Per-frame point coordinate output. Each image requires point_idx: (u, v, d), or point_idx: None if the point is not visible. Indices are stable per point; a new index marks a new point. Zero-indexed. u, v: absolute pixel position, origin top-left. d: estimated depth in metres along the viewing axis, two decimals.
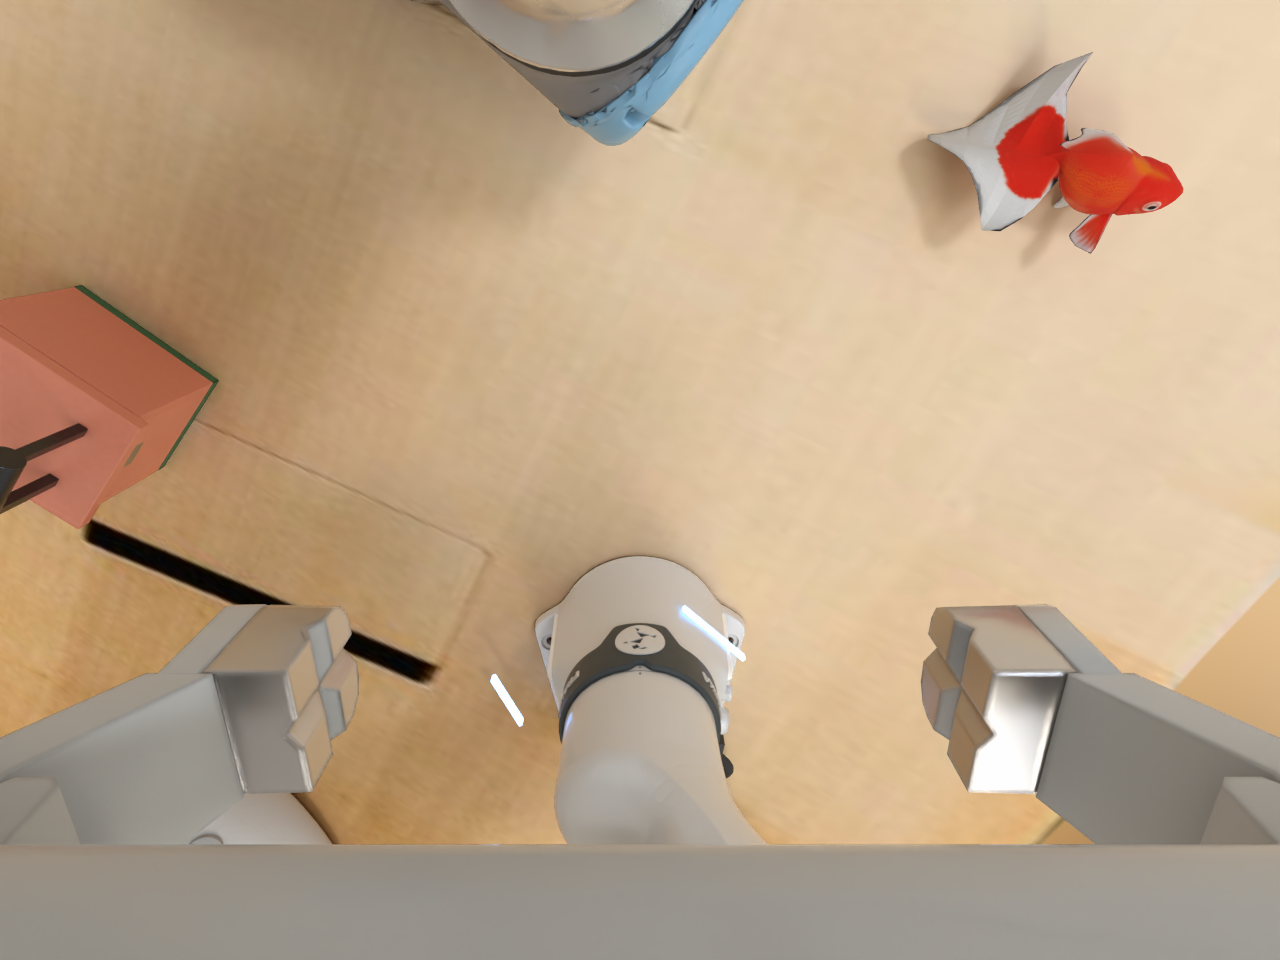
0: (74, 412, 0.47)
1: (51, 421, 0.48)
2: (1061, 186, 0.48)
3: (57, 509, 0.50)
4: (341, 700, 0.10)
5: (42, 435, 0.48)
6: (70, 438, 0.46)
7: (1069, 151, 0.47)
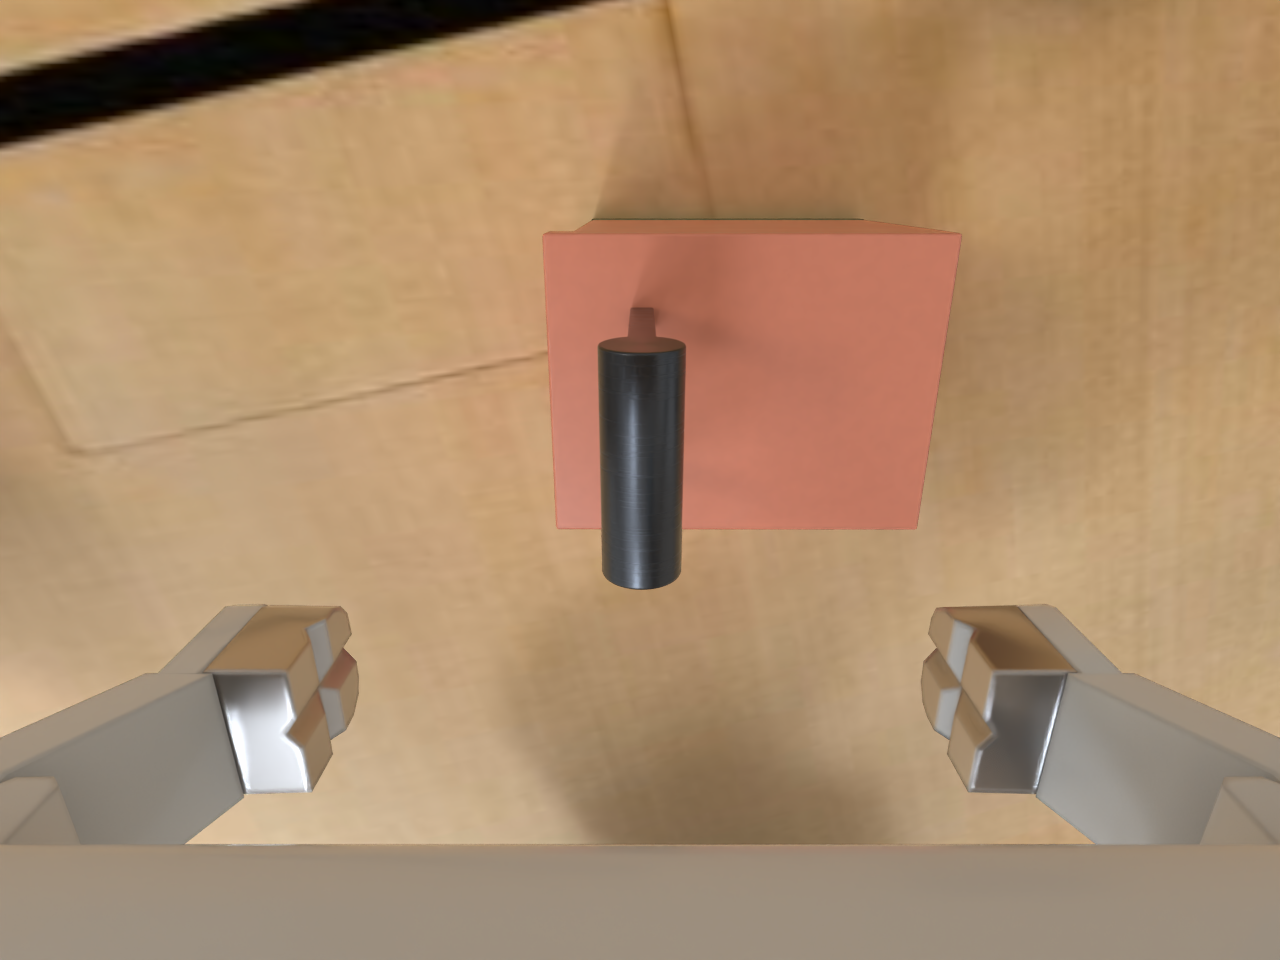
0: None
1: (696, 439, 0.23)
2: None
3: (601, 254, 0.21)
4: (341, 700, 0.10)
5: (699, 400, 0.23)
6: None
7: None
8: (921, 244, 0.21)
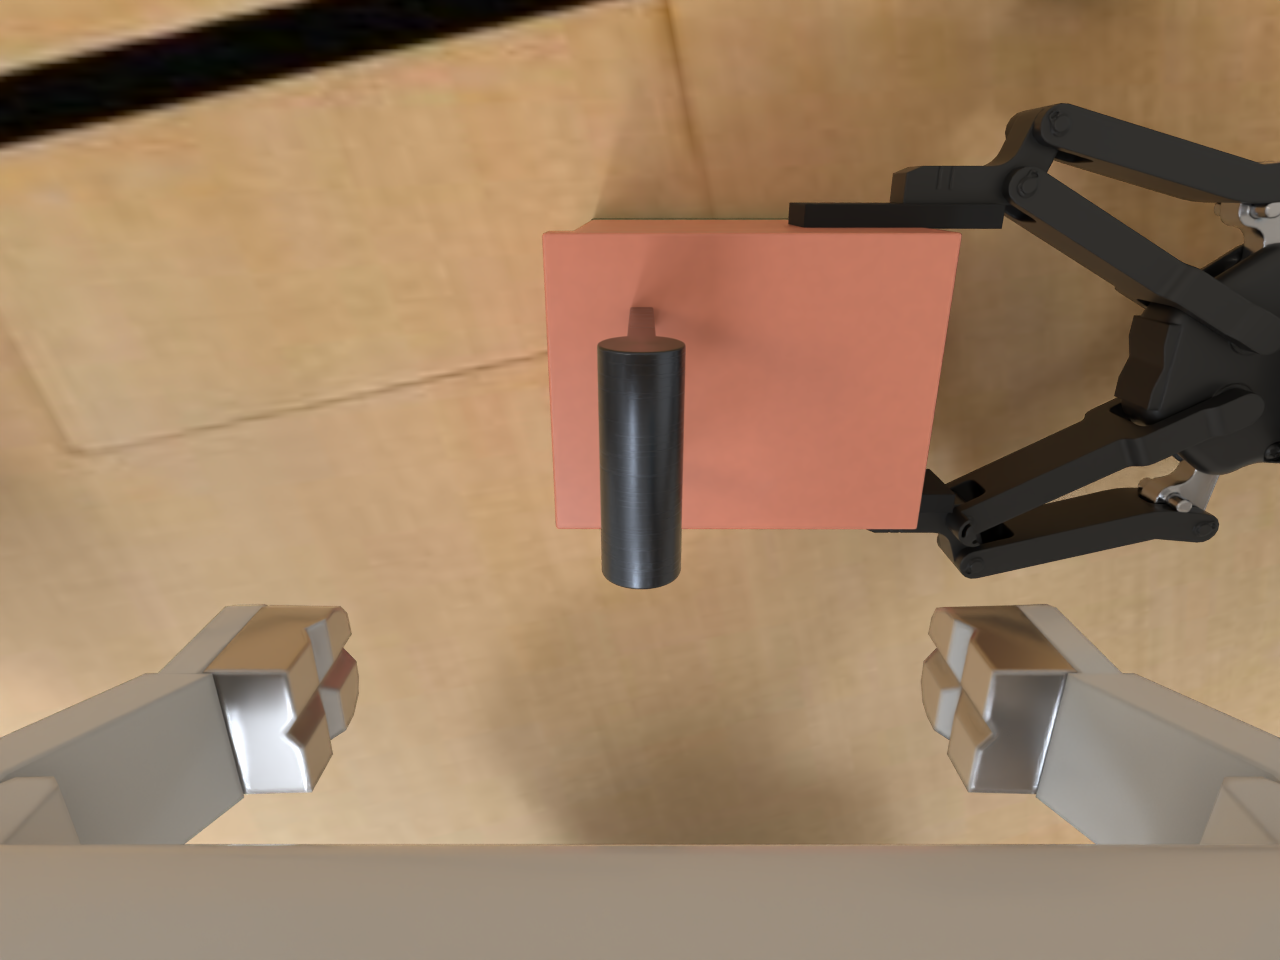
0: None
1: (696, 439, 0.23)
2: None
3: (601, 253, 0.21)
4: (341, 700, 0.10)
5: (699, 400, 0.23)
6: None
7: None
8: (921, 244, 0.21)
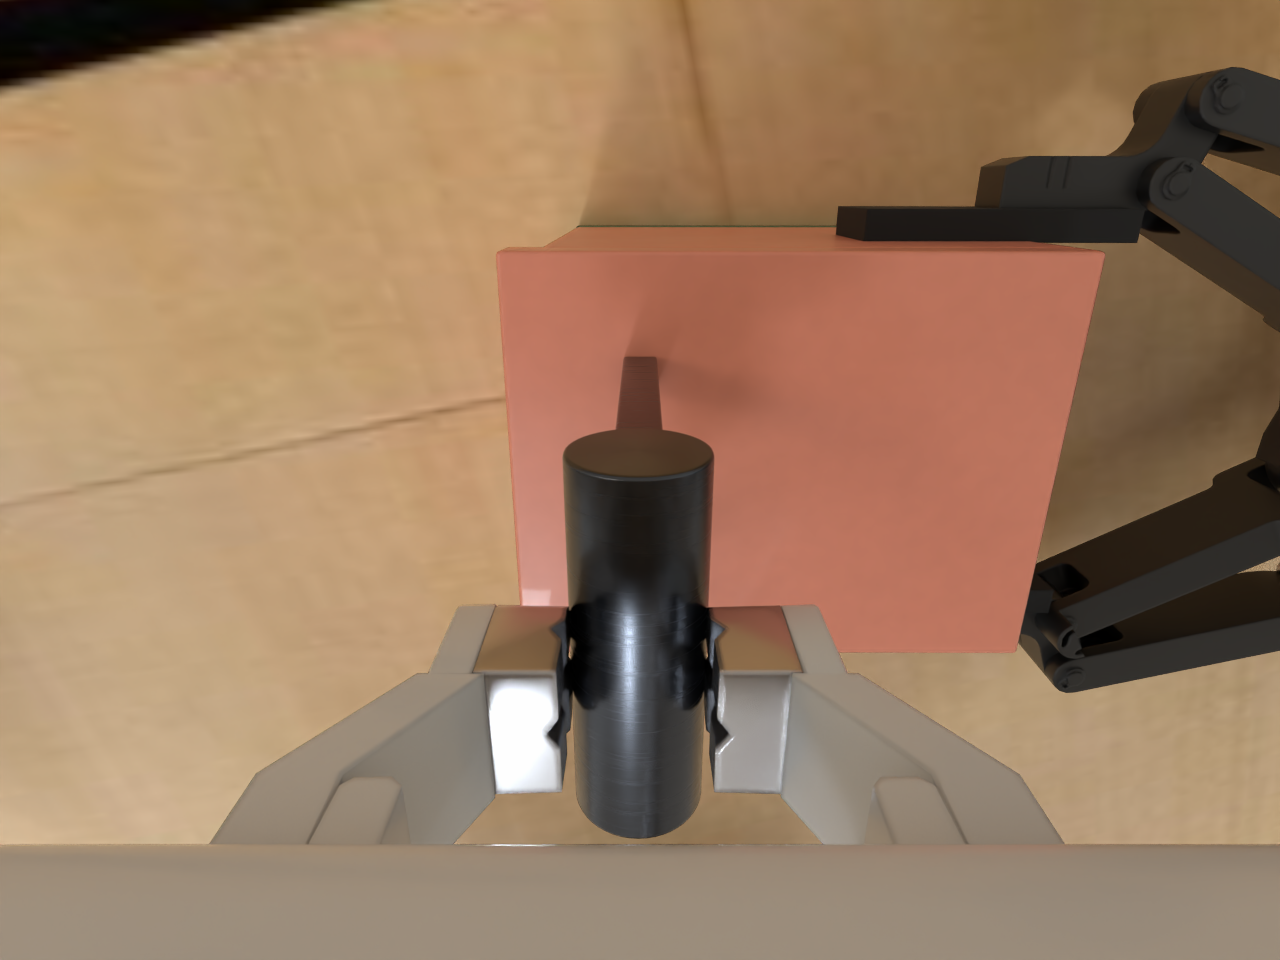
0: None
1: (715, 535, 0.17)
2: None
3: (582, 281, 0.15)
4: (567, 700, 0.10)
5: (720, 484, 0.16)
6: None
7: None
8: (1045, 268, 0.15)
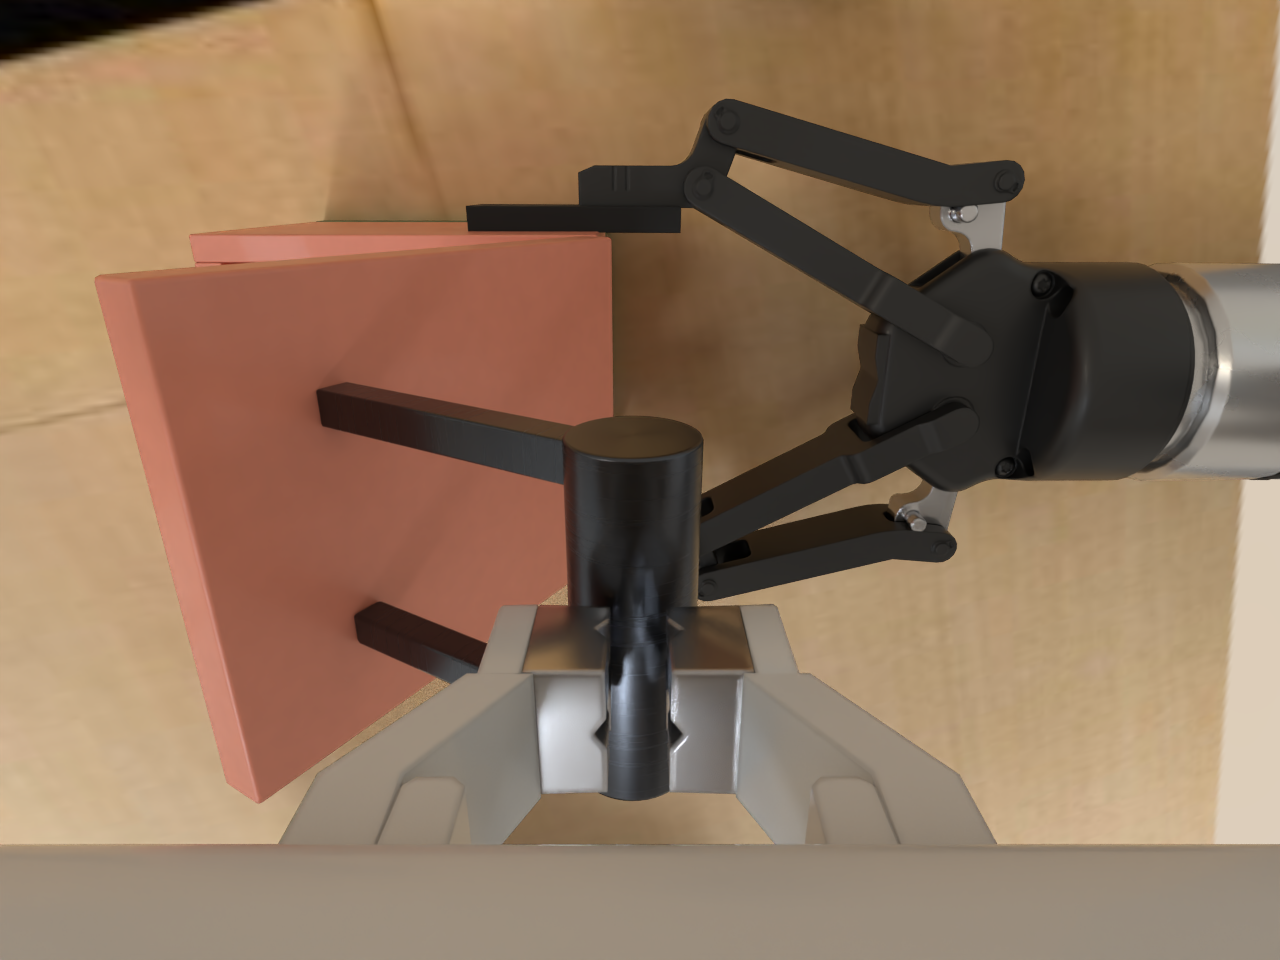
0: None
1: (427, 554, 0.16)
2: None
3: (255, 306, 0.12)
4: (609, 700, 0.10)
5: (423, 499, 0.16)
6: (409, 659, 0.14)
7: None
8: (588, 251, 0.19)
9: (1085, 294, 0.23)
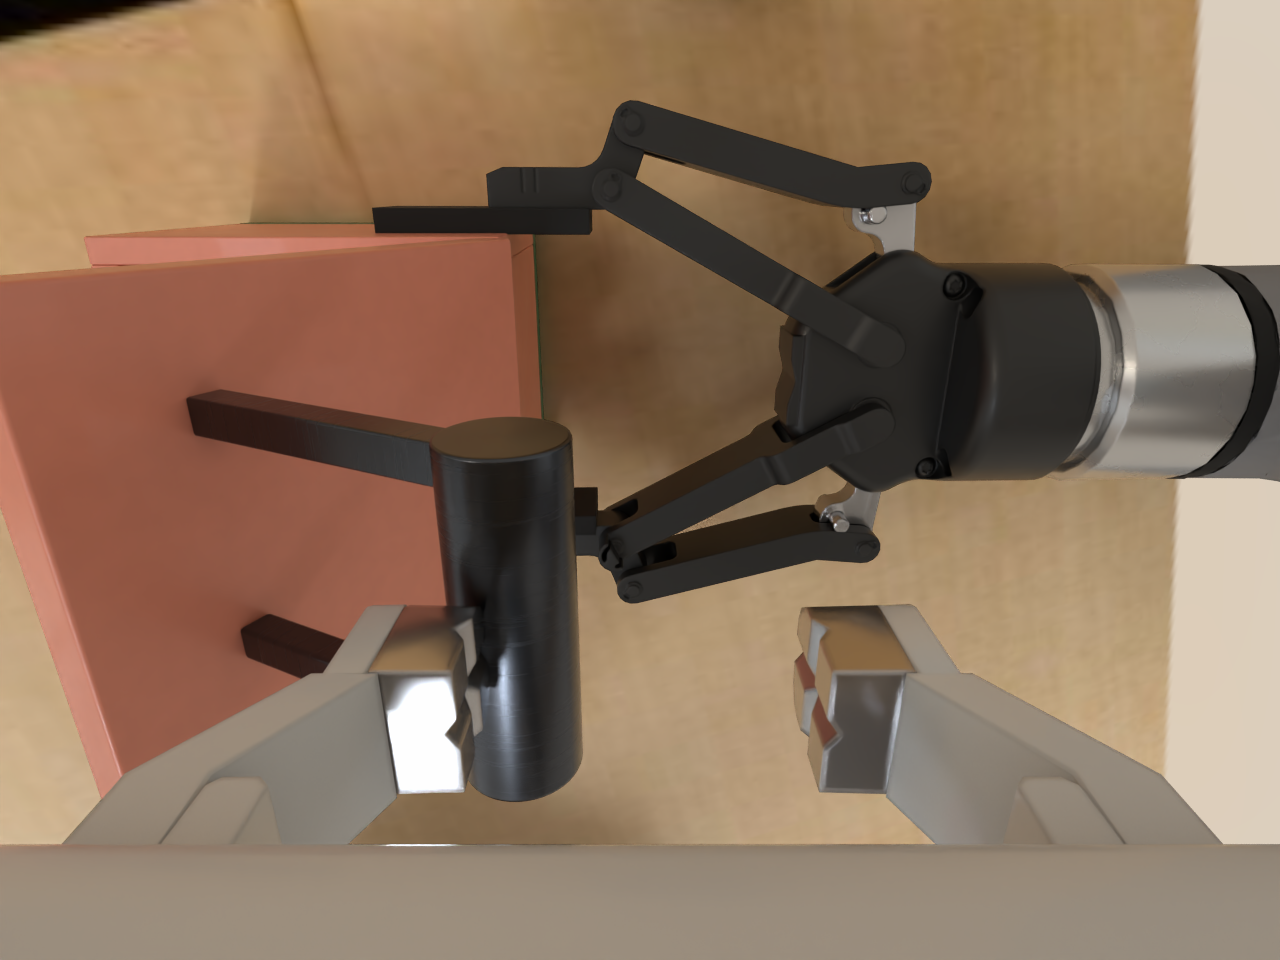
0: None
1: (321, 563, 0.16)
2: None
3: (110, 312, 0.11)
4: (479, 700, 0.10)
5: (314, 507, 0.15)
6: (298, 672, 0.14)
7: None
8: (485, 254, 0.19)
9: (993, 295, 0.23)
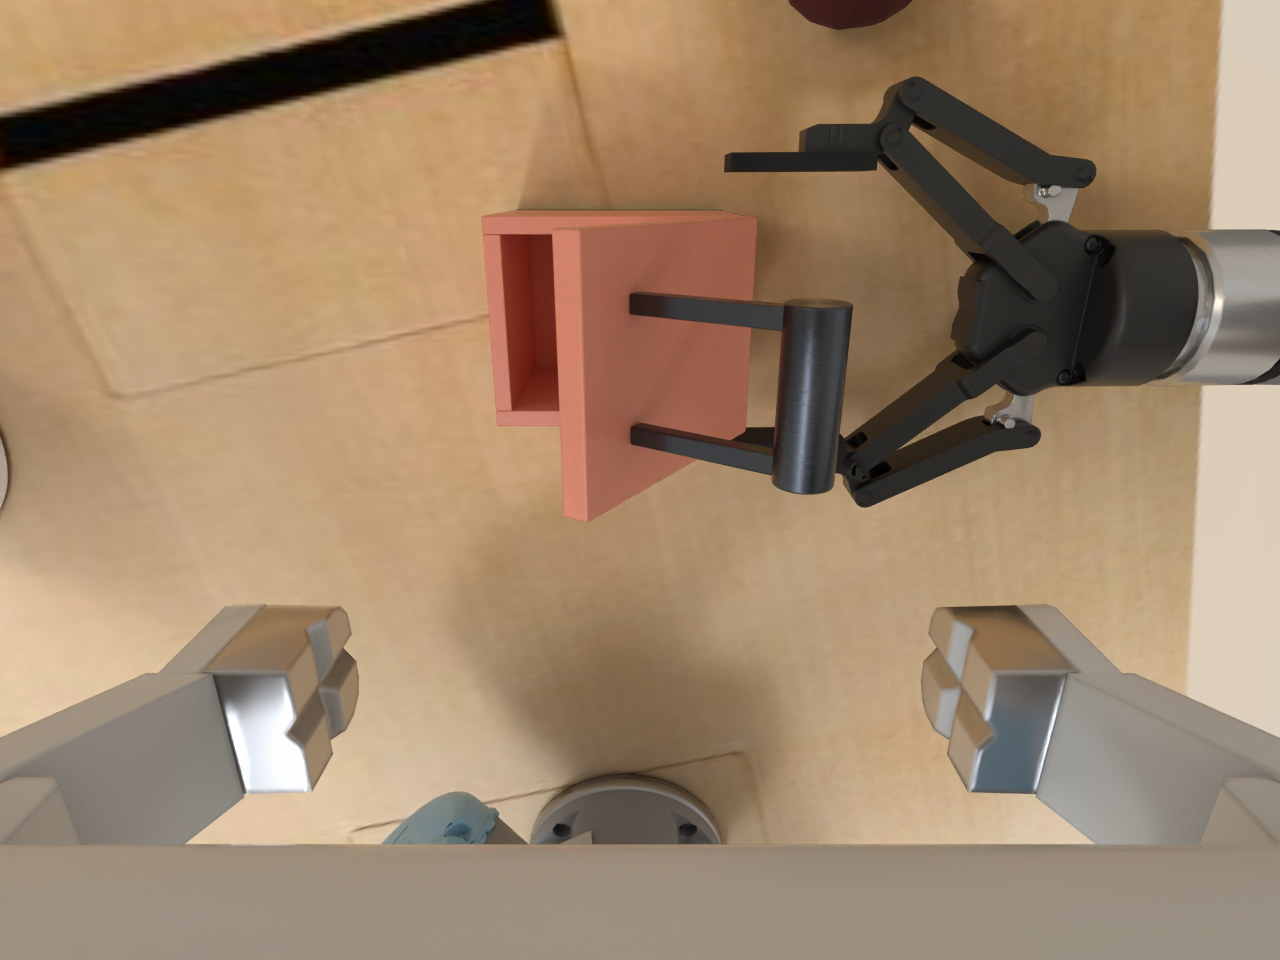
0: None
1: (660, 401, 0.27)
2: None
3: (614, 246, 0.23)
4: (341, 700, 0.10)
5: (662, 367, 0.27)
6: (667, 448, 0.25)
7: None
8: (745, 225, 0.30)
9: (1123, 250, 0.33)
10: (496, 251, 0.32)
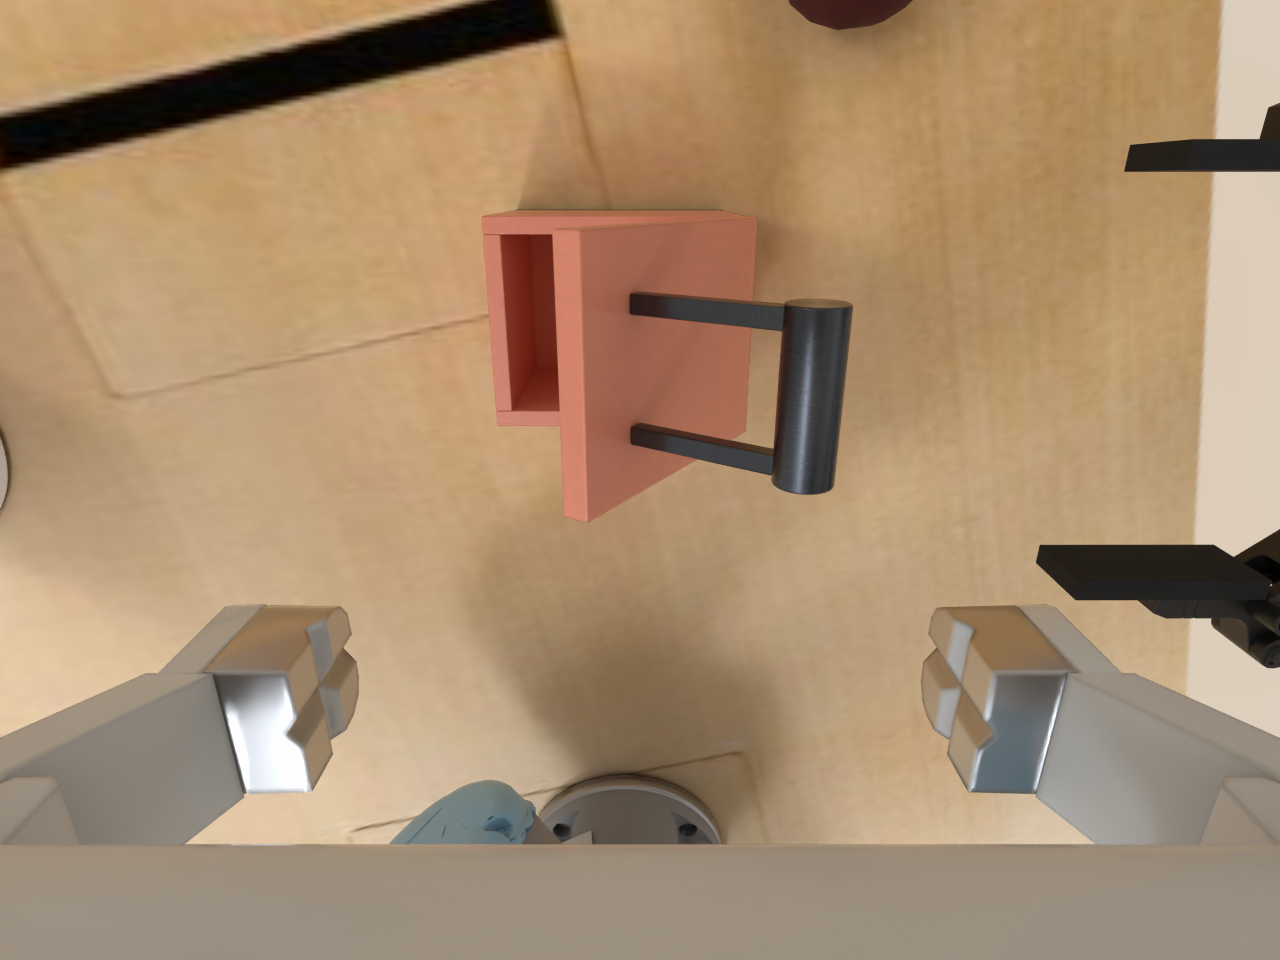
0: (647, 447, 0.27)
1: (661, 401, 0.27)
2: None
3: (614, 246, 0.23)
4: (341, 700, 0.10)
5: (662, 367, 0.27)
6: (667, 448, 0.25)
7: None
8: (745, 225, 0.30)
9: None
10: (496, 251, 0.32)
